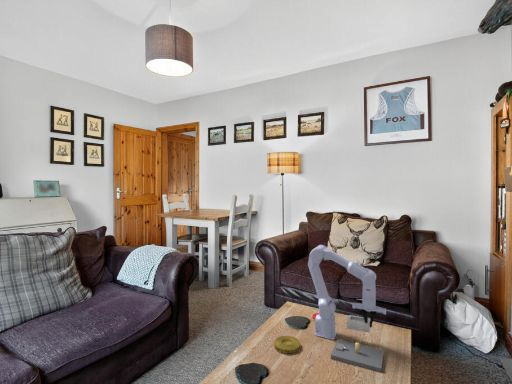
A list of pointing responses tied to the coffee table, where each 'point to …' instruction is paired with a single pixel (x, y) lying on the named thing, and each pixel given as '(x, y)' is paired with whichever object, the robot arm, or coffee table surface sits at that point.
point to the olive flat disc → (287, 344)
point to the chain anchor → (341, 347)
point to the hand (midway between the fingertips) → (368, 326)
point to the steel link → (358, 323)
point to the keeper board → (359, 355)
